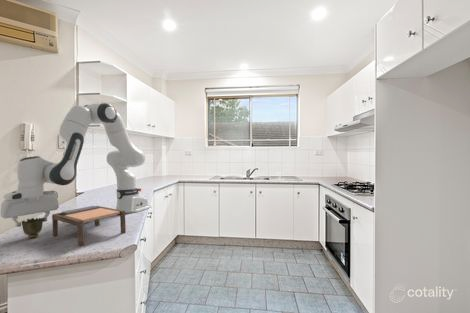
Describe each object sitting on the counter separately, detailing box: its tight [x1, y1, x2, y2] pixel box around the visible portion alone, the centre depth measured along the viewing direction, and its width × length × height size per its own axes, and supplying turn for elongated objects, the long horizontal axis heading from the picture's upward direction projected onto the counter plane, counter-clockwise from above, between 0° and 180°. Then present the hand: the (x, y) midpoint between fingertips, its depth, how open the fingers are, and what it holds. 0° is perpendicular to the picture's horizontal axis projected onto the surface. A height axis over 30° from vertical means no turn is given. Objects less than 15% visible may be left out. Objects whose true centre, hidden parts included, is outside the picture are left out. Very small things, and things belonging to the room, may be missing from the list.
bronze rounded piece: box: [21, 217, 44, 239], centre depth 111 cm, size 8×7×8 cm
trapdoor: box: [61, 205, 120, 222], centre depth 113 cm, size 16×21×2 cm
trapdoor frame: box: [51, 205, 127, 247], centre depth 114 cm, size 20×24×10 cm
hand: (31, 223), depth 111 cm, fingers open, 8 cm apart
